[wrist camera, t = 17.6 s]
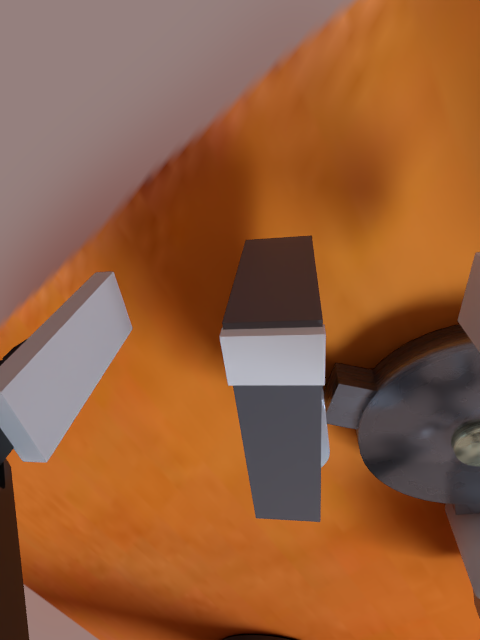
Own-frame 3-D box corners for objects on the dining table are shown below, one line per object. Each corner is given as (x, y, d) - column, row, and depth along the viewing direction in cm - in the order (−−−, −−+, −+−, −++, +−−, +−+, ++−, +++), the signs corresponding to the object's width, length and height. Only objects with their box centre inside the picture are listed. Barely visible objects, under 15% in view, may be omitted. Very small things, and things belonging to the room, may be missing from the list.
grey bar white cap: (321, 398, 21) (336, 555, 14) (259, 397, 21) (244, 548, 14) (323, 213, 15) (351, 326, 8) (238, 219, 15) (195, 330, 9)
